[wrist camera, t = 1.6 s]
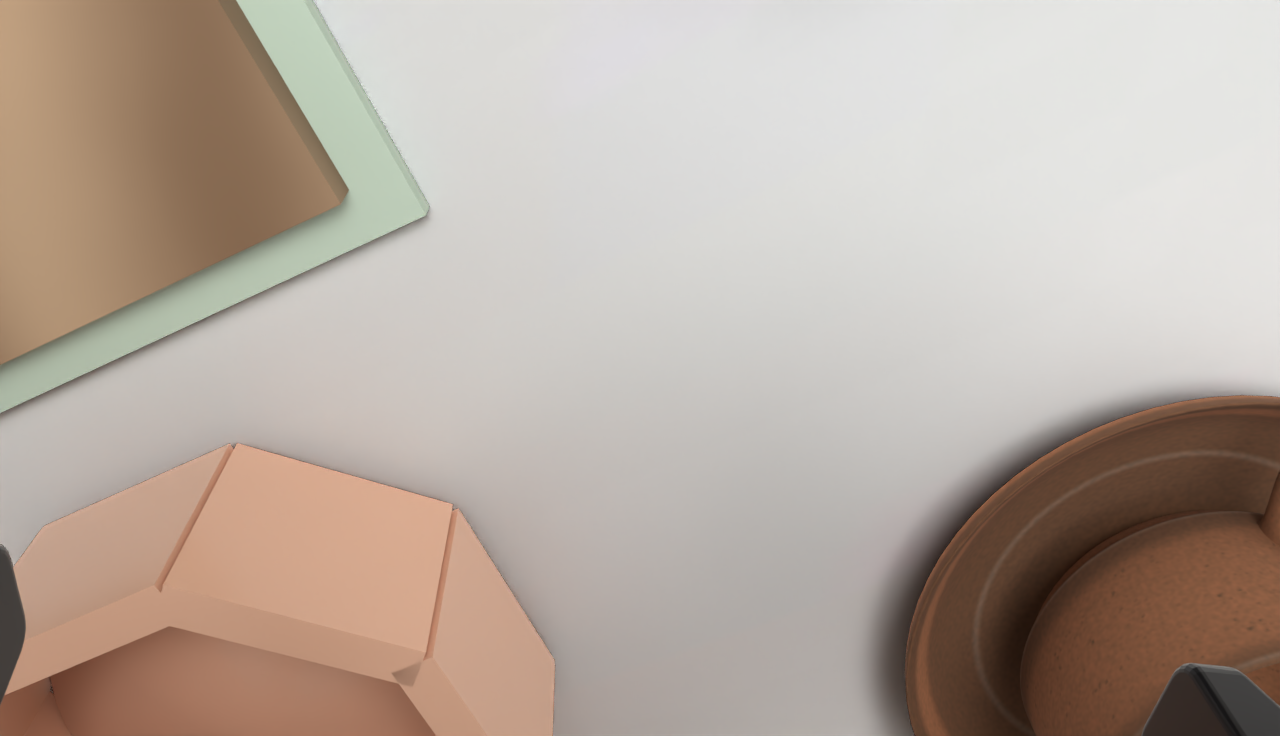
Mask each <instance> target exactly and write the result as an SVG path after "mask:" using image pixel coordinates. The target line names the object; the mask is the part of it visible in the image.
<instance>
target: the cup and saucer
mask: <svg viewBox="0 0 1280 736" xmlns="http://www.w3.org/2000/svg"><path fill="white" fill-rule="evenodd" d="M1186 663H1197V664H1207V665H1217V666H1226V667H1231V668H1234V669H1237V670H1238V671H1240V672H1242V673H1243V674H1244V675H1246V676H1247V677H1248V678H1249V679H1250V680H1251V681H1253V682H1254V683H1255V684H1256V685H1257V686H1258V687H1259V688H1260V689H1261V690H1263V691H1264V692H1265V693H1266V694H1267V695H1268V696H1269V697H1270V698H1271V699H1272V700H1274V701H1275V702H1276V703H1277V704H1278V705H1279V706H1280V397H1272V396H1245V395H1240V396H1222V397H1209V398H1202V399H1195V400H1188V401H1181V402H1177V403H1173V404H1168V405H1164V406H1160V407H1155V408H1151V409H1148V410H1145V411H1142V412H1138V413H1135V414H1132V415H1129V416H1126V417H1122V418H1120V419H1117V420H1115V421H1112V422H1110V423H1107V424H1105V425H1102V426H1100V427H1097V428H1095V429H1093V430H1091V431H1089V432H1087V433H1085V434H1083V435H1081V436H1078V437H1076V438H1074V439H1072V440H1070V441H1068V442H1066V443H1065V444H1063V445H1061V446H1060V447H1058V448H1056V449H1055V450H1053V451H1051V452H1050V453H1048V454H1046V455H1044V456H1043V457H1041V458H1039V459H1038V460H1037V461H1035V462H1034V463H1032V464H1031V465H1030V466H1028V467H1027V468H1025V469H1024V470H1023V471H1021V472H1020V473H1018V474H1017V475H1016V476H1014V477H1013V478H1012V479H1011V480H1010V481H1008V482H1007V483H1006V484H1005V485H1004V486H1002V487H1001V488H1000V489H999V490H998V491H996V492H995V493H994V494H993V495H992V496H991V497H990V498H989V499H988V500H987V501H986V502H985V503H984V504H983V505H982V506H981V507H980V508H979V509H978V510H977V511H976V512H975V513H974V514H973V515H972V516H971V517H970V518H969V519H968V521H967V522H966V523H965V524H964V525H963V527H962V528H961V529H960V530H959V531H958V532H957V534H956V535H955V536H954V538H953V539H952V540H951V542H950V543H949V545H948V546H947V548H946V549H945V550H944V552H943V553H942V555H941V556H940V558H939V560H938V561H937V563H936V565H935V567H934V568H933V570H932V572H931V574H930V576H929V577H928V579H927V581H926V584H925V586H924V588H923V591H922V593H921V595H920V597H919V600H918V602H917V606H916V609H915V612H914V615H913V618H912V622H911V625H910V631H909V636H908V641H907V646H906V660H905V685H906V701H907V707H908V712H909V717H910V722H911V726H912V729H913V732H914V735H915V736H1141V735H1142V731H1143V728H1144V726H1145V724H1146V722H1147V720H1148V718H1149V716H1150V715H1151V713H1152V711H1153V709H1154V707H1155V705H1156V704H1157V702H1158V700H1159V698H1160V696H1161V694H1162V693H1163V691H1164V689H1165V687H1166V685H1167V683H1168V682H1169V680H1170V678H1171V676H1172V674H1173V673H1174V671H1175V670H1176V669H1177V668H1179V667H1180V666H1182V665H1183V664H1186Z"/></svg>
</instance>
